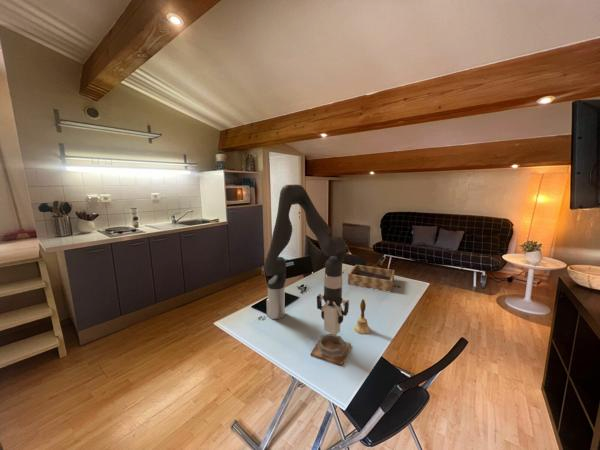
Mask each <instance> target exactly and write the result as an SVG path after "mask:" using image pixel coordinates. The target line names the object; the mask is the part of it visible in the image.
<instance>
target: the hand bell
mask: <svg viewBox="0 0 600 450" xmlns="http://www.w3.org/2000/svg"><path fill="white" fill-rule="evenodd" d="M359 308H360V317H358V319H357V322H356V324H355V325H354V326H353V330H354V331H355V332H356V333H357V334H361V335H367V334H370V333H371V327H370V326H369V324H368V319H367V318H365V311H366V300H365V298H364V299H361V301H360V305H359Z"/></svg>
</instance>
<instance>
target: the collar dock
mask: <svg viewBox="0 0 600 450" xmlns="http://www.w3.org/2000/svg"><path fill="white" fill-rule="evenodd" d="M351 346H352V343H350V342H347V341H345V340H344V339H343V337H342V336H341V335H338V334H336V335H333V334H331V333H327V334H322V335H321V336H320V337H319V339H318V340H317V342H316V344H315V345H314V347H313V349H312V350H311V352H310V356H311V357H314V358H317V359H320V360H323V361H326V362H329V363H331V364H335V365H337V366H341V367H343V366H344V364H345V361H346V359H347V356H348V354H349V351H350V348H351Z"/></svg>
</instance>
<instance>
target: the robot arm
mask: <svg viewBox="0 0 600 450" xmlns="http://www.w3.org/2000/svg"><path fill="white" fill-rule="evenodd" d="M293 205H299V207H301V208H302V210H303V211H304V214H305V220H306V221H305V222H306V225H307V226H308V228H309V229H310V230H311V232H312V233H313V234H314V236H315V237H316V240H317V242H318V244H319V248H320V250H321V251H322V253H323V254H324V255H326V256H328V257H329V258H328V259H327V260H326V261H325V264H324V279H323V281H324V282H323V295H322V294H321V293H319V294H318V295H317V296H316V308H317V310H320V311H321V312H320V313H321V314H320V315H321V319H322V320H324V308H326V307H327V305H329V306H333V307H335V308H337V311H338V313H339V324H340V325H341V324H342V323H343V322H344V317H345V316H347V315H348V313H349V309H350V307H349V306H350V300H348V299H343V294H342V293H343V263H344V260H345V257H346V254H347V253H346V252H347V243H346V241H345V240H344V238H343V237H341V236H334V237H331V236H330V233H331V230H332V229H331V227H330V225H328V223H327V222H326V221H325V219H324V218H323V217H322V216H321V214H320V213H319V212H318V210H317V208H316V207H315V204H314V203H313V201H312V200H311V198H310V196H309V194H308V192H307V190H306V189H305V188H304V187H303V186H302V185H301V184H285V185H283V186H282V187H281V189H280V192H279V198H278V206H277V212H276V213H277V214H276V217H275V218H276V219H275V223H274V227H273V230H272V231H273V232H272V235H271V241H270V245H269V249H268V251H267V255H266V258H265V260H264V265H263V266H264V267H263V270H264V273H265V275H266V276H267V277H271V278H270V279H269V280H268V282H267V298H266V301H265V302H266V317H268V318H270V319H271V320H281V319H282V318H284V317H285V316H286V313H285V312H286V310H285V309H286V305H285V303H286V302H285V299H286V298H285V297H286V296H285V293H286V291H285V288H286V287H285V284H286V279H287V278H286V277H287V262H286V260H285V258H284V257H282V256H280V255H281V254H282V252H283V251H284V250H285V248H286V247H287V246H288V245H289V244H290V241H291V238H292V235H293V225H292V221H291V219H290V211H291V209H292V206H293ZM323 301H324V304H325V305H324V304H323V303H322V302H323ZM322 304H323V305H322ZM341 304H343V306H342V305H341ZM338 306H340V308H339V307H338ZM343 307H344V308H343Z"/></svg>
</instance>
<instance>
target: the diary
mask: <svg viewBox="0 0 600 450" xmlns="http://www.w3.org/2000/svg"><path fill="white" fill-rule="evenodd" d="M355 275H360V276H366V277H372V278H378V279H384V280H390V278H391V277H389V276H383V275H378V274H374V273H370V272H366V271H361V270H359V271H358V272H357V273H356V274H355Z"/></svg>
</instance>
